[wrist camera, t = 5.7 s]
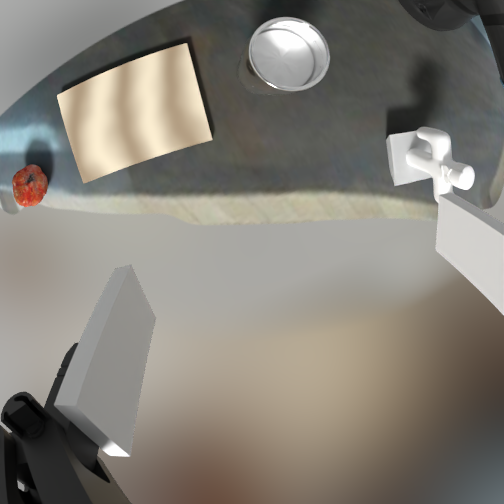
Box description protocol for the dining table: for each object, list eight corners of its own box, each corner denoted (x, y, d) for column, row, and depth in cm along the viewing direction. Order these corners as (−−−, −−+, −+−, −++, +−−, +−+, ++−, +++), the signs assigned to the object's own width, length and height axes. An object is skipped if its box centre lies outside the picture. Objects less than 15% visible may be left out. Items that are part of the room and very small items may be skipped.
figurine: (414, 118, 37) (486, 134, 24) (420, 177, 42) (485, 211, 28) (375, 124, 37) (443, 140, 24) (383, 186, 42) (445, 224, 29)
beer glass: (229, 51, 31) (238, 19, 18) (284, 44, 31) (324, 13, 18) (239, 102, 35) (255, 99, 21) (293, 94, 35) (339, 89, 21)
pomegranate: (47, 201, 38) (59, 188, 33) (18, 218, 34) (25, 208, 29) (33, 169, 36) (44, 151, 31) (3, 185, 32) (9, 168, 27)
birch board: (187, 44, 30) (186, 42, 29) (212, 138, 36) (212, 139, 35) (60, 95, 30) (56, 95, 29) (87, 181, 36) (83, 183, 35)
